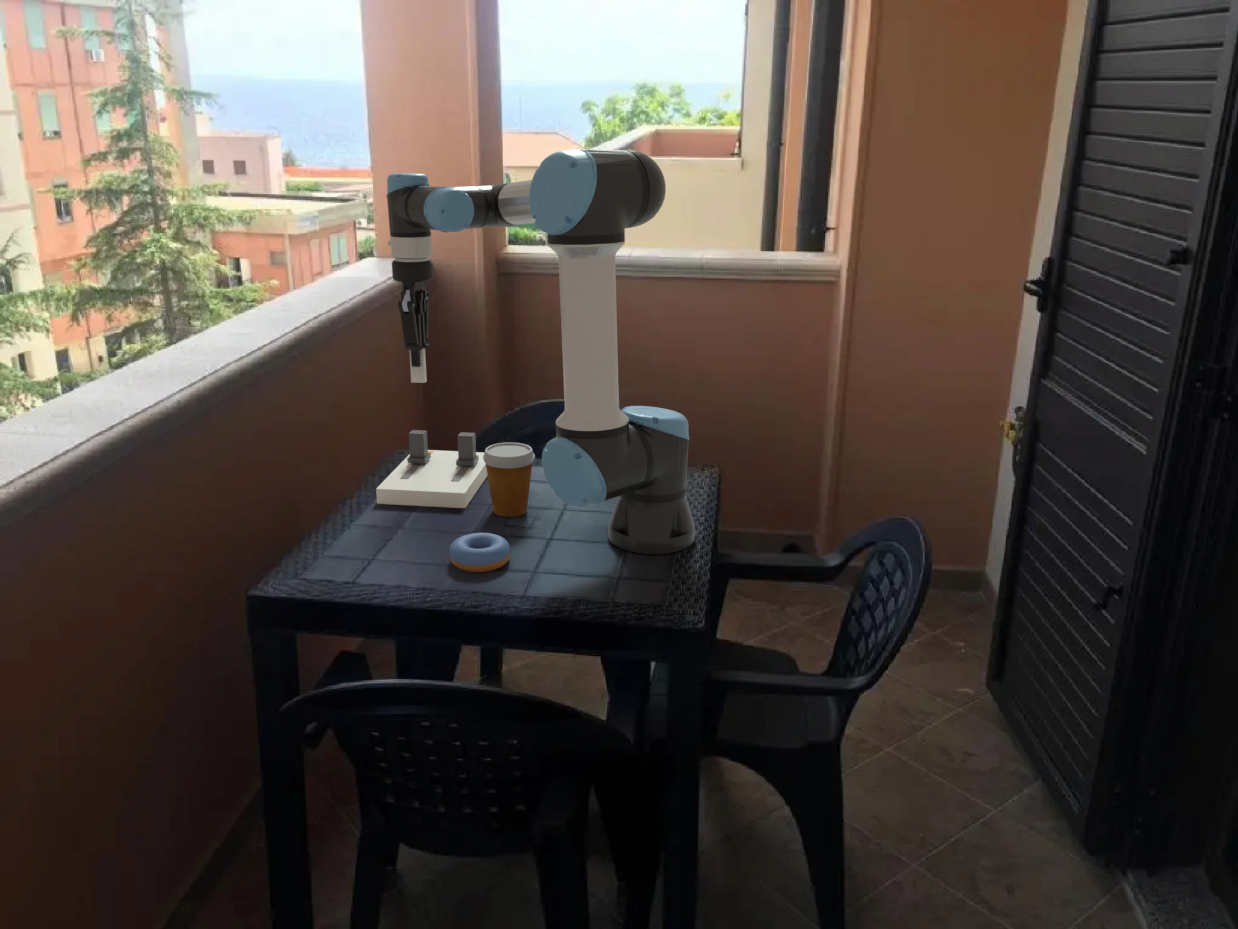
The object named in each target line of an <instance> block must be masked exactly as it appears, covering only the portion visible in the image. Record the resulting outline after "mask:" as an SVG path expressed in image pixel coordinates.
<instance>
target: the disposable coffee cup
mask: <svg viewBox="0 0 1238 929" xmlns="http://www.w3.org/2000/svg"><path fill="white" fill-rule="evenodd" d="M483 453H484V455H483V460H484V462H485V463H486V469H487V475H488V476H487V480H488V486H489V494H490V500H491V505H492V511H493V514H495V515H497V516H500V517H508V518H509V517H511V518H512V517H519V516H522V515H524V514H526V513H527V511H528V505H529V495H530V494H529V493H530V488H531V479H532V478H531V477H532V471H533V470H532V468H533V462H534V460H535V458H536V455H535V453H534V451H533V448H532V447H531V446H530V445H529V444H526V443H520V442H509V441H508V442H500V443H494V444H490V445H489V446H487V447H485V450H484V452H483Z"/></svg>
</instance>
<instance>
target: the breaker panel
mask: <svg viewBox="0 0 1238 929" xmlns="http://www.w3.org/2000/svg"><path fill="white" fill-rule="evenodd" d="M428 453H431V458H430V459H429V460H428V461H427V462H426V463H425V464H417V463H408V461H407V458H408V457H409V456H410V453H409V454H407V456H406V457H405V458H404V460H402V461H401V462H400V463H399V464H398V465H397V467H396V468H395V469H393V470H392V472H390V474H388V475H387V477H386V478H385V479H384V480H383V481H381V483H380V484H379V485H378V486H377V487H376V489H375V491H376V493H375V494H376V503H377V504H378V505H397V506H398V505H399V506H401V505H402V506H414V507H415V506H419V507H436V508H451V509H452V508H455V509H467V507H468V505H469V503H470V502H471V501H472V499H473V498H474V496H475V495H476V493H477V492H478V490H479V489H480V487H481V486H482V485H483V484H484V481H485V480H486V478H488V475H487V469H486V463H485V462H484V460H483V455H484V453H485V452H483V451H482V452H479V451H476V455H478V456H479V460H478V462H477V463H476V464H475V466H456V460H457V459H458V450H441V449H440V450H439V449H436V450H435V449H428Z"/></svg>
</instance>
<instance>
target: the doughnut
mask: <svg viewBox="0 0 1238 929" xmlns="http://www.w3.org/2000/svg"><path fill="white" fill-rule="evenodd" d="M510 547H511V546H510V544H509V542H508V540H506V539H505V538H504V537H503V536H501V535H498V534H495V533H491V532H473V533H468V534H464V535H461V536H459V537H457V538H455V540H454V541H453V542H452V543H451V544H450V547H449V553H448V555H449V560H450V561H451V563H452V564H453V565H454V566H455V567H456V568H458V569H459V570H462V571H465V572H469V573H470V572H471V573H485V572H491V571H495V570H497V569H500V568H501V567H503V566H504V565H506V564H507V563H508V561H509V560H510V559H511V548H510Z"/></svg>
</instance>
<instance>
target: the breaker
mask: <svg viewBox="0 0 1238 929" xmlns="http://www.w3.org/2000/svg"><path fill="white" fill-rule="evenodd" d="M476 439H477V438H476V432H467V431H465V432H463V431H460V432H459V433H458V435H457V451H458V459H457V460H456V466H475V464H476V463H477V462H478V460H479V456H478V455H476V452H477V448H476V447H477V446H476V441H477V440H476Z"/></svg>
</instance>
